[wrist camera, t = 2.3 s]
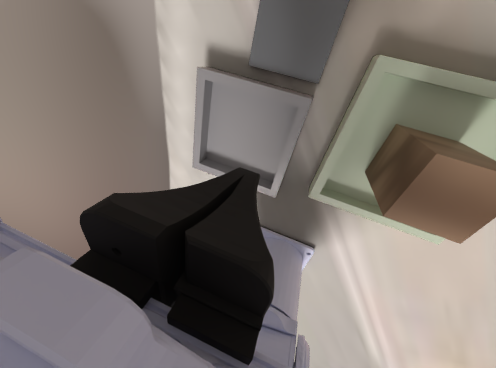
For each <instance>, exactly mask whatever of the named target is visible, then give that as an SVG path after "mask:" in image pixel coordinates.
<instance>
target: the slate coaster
mask: <svg viewBox="0 0 496 368" xmlns="http://www.w3.org/2000/svg"><path fill="white" fill-rule="evenodd" d="M348 3H349V0H260V4H259V9H258V15H257V21H256V26H255V32H254V37H253V43H252V49H251V54H250V60H249V65H250V66H253V67H257V68H261V69H265V70H268V71H272V72H276V73H280V74H283V75H287V76H291V77H294V78H298V79H302V80H306V81H309V82H313V83H317V84H318V83H319V80H320V78H321V75H322V72H323V70H324V67H325V64H326V62H327V59H328V56H329V54H330V51H331V48H332V46H333V43H334V40H335V38H336V35H337V32H338V30H339V27H340V24H341V22H342V19H343V16H344V14H345V11H346V8H347V6H348Z"/></svg>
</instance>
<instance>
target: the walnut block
mask: <svg viewBox="0 0 496 368" xmlns="http://www.w3.org/2000/svg"><path fill="white" fill-rule="evenodd" d="M365 174H366V176H367V179H368V181H369V183H370V186H371V188H372V191H373V193H374V195H375V198H376V200H377V203H378V205H379V207H380V210H381V212H382V215H383V216H384V217H387V218H390V219H392V220H395V221H398V222H401V223H404V224H406V225H409V226H412V227H415V228H418V229H420V230H423V231H426V232H429V233H432V234H434V235H437V236H440V237H443V238H446V239H448V240H451V241H454V242H457V243H460V244H461V243H462V242H463V241H465V240H466V239H467V238H469V237H470V236H471V235H473V234H474V233H475V232H477V231H478V230H479V229H481V228H482V227H483V226H485V225H486V224H487V223H489V222H490V221H491V220H493V219H494V218H495V217H496V161H495V160H493V159H491V158H489V157H487V156H485V155H484V154H482V153H480V152H478V151H476V150H474V149H472V148H470V147H468V146H466V145H465V144H463V143H461V142H459V141H455V140H452V139H448V138H445V137H441V136H437V135H434V134H430V133H427V132H423V131H420V130H416V129H413V128H409V127H406V126H402V125H399V124H396V125H395V126H394V128H393V129H392V131H391V132H390V134H389V136H388V137H387V139H386V140H385V142H384V143H383V145H382V146H381V148H380V149H379V151H378V152H377V154H376V155H375V157H374V158H373V160H372V161H371V163H370V164H369V166H368V168H367V169H366V171H365Z"/></svg>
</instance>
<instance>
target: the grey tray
mask: <svg viewBox="0 0 496 368" xmlns="http://www.w3.org/2000/svg"><path fill="white" fill-rule="evenodd" d="M312 99H313V96H311V95H307V94H304V93H300V92H296V91H293V90H289V89H286V88H282V87H278V86H275V85H271V84H268V83H264V82H261V81H257V80H253V79H250V78H246V77H243V76H239V75H235V74H232V73H228V72H225V71H221V70H217V69H214V68H210V67H197V83H196V104H195V125H194V147H193V167H194V168H196V169H199V170H202V171H204V172H207V173H210V174H212V175H215V176H218V177H219V176H221V175H223V174H226V173H228V172H230V171H232V170H235V169H237V168H239V167H241V168H244V169H247V170H250V171H252V172H255V173H258V174H260V180H259V184H258V187H257V191H258V192H260V193H263V194H266V195H268V196H271V197H274V198H276V195H277V193H278V190H279V187H280V185H281V182H282V179H283V177H284V174H285V171H286V169H287V166H288V163H289V161H290V158H291V155H292V153H293V150H294V147H295V145H296V142H297V139H298V137H299V134H300V131H301V129H302V126H303V123H304V121H305V118H306V115H307V113H308V110H309V107H310V105H311V102H312Z"/></svg>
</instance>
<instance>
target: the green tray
mask: <svg viewBox="0 0 496 368" xmlns="http://www.w3.org/2000/svg"><path fill="white" fill-rule="evenodd" d="M396 124H399V125H402V126H406V127H409V128H413V129H416V130H420V131H423V132H427V133H430V134H434V135H437V136H441V137H445V138H448V139H452V140H455V141H459V142H461V143H463V144H465V145H466V146H468V147H470V148H472V149H474V150H476V151H478V152H480V153H482V154H484V155H485V156H487V157H489V158H491V159H493V160H495V161H496V81H491V80H487V79H483V78H478V77H474V76H470V75H465V74H461V73H457V72H452V71H448V70H444V69H440V68H435V67H431V66H427V65H422V64H418V63H414V62H409V61H405V60H401V59H396V58H392V57H388V56H384V55H377V56H373V58H372V60H371V62H370V64H369V66H368V68H367V70H366V72H365V74H364V76H363V78H362V80H361V82H360V84H359V86H358V89H357V91H356V93H355V95H354V97H353V99H352V101H351V103H350V105H349V107H348V109H347V111H346V113H345V115H344V117H343V119H342V121H341V123H340V125H339V128H338V130H337V132H336V134H335V136H334V138H333V140H332V142H331V144H330V146H329V148H328V150H327V152H326V154H325V156H324V158H323V160H322V162H321V164H320V167H319V169H318V171H317V173H316V175H315V177H314V179H313V181H312V183H311V185H310V187H309V196H308V197H309V198H311V199H314V200H317V201H320V202H322V203H325V204H328V205H331V206H333V207H336V208H339V209H342V210H344V211H347V212H350V213H353V214H355V215H358V216H361V217H364V218H366V219H369V220H372V221H375V222H377V223H380V224H383V225H386V226H388V227H391V228H394V229H397V230H399V231H402V232H405V233H408V234H410V235H413V236H416V237H419V238H421V239H424V240H427V241H430V242H432V243H435V244H438V245H439V244H440V243H441V242H442V241H444V240H445V239H446V238H443V237H440V236H437V235H434V234H432V233H429V232H426V231H423V230H420V229H418V228H415V227H412V226H409V225H406V224H404V223H401V222H398V221H395V220H392V219H390V218H387V217H384V216H383V215H382V212H381V210H380V207H379V205H378V203H377V200H376V198H375V195H374V193H373V191H372V188H371V186H370V183H369V181H368V179H367V176H366V174H365V171H366V169H367V168H368V166H369V164H370V163H371V161H372V160H373V158H374V157H375V155H376V154H377V152H378V151H379V149H380V148H381V146H382V145H383V143H384V142H385V140H386V139H387V137H388V136H389V134H390V132H391V131H392V129H393V128H394V126H395V125H396Z"/></svg>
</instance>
